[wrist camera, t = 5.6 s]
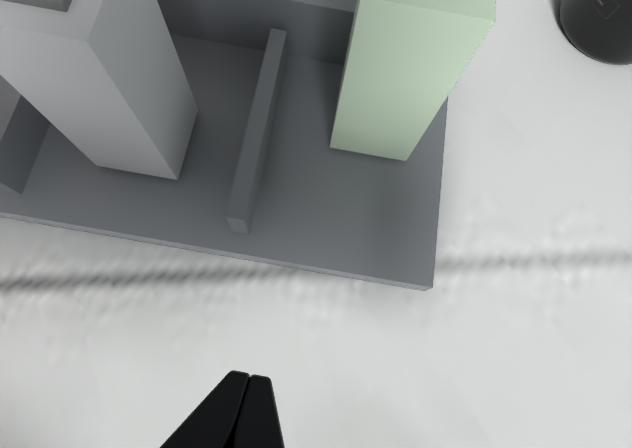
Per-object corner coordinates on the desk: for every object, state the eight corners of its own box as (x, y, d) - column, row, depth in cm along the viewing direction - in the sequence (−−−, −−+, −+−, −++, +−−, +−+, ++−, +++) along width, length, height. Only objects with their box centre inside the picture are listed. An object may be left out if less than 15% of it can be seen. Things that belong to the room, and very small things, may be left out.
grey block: (178, 180, 20) (81, 33, 11) (96, 165, 20) (-74, 5, 11) (198, 109, 21) (127, -79, 12) (121, 95, 21) (-12, -105, 12)
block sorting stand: (424, 290, 21) (471, 271, 16) (-171, 186, 20) (-331, 130, 15) (444, 58, 25) (486, -19, 20) (-49, -33, 24) (-141, -136, 19)
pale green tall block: (405, 161, 21) (500, 13, 12) (329, 147, 21) (362, -13, 12) (413, 94, 22) (504, -88, 13) (340, 81, 22) (379, -112, 13)
